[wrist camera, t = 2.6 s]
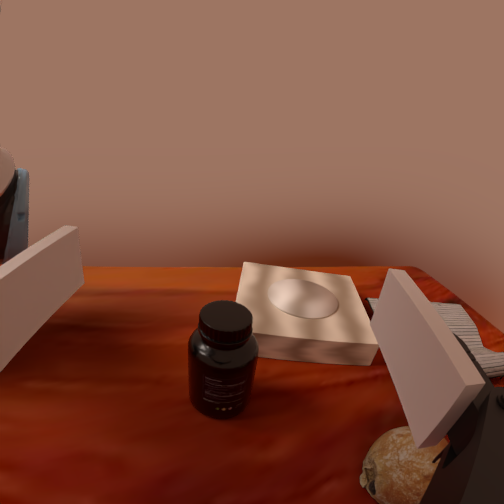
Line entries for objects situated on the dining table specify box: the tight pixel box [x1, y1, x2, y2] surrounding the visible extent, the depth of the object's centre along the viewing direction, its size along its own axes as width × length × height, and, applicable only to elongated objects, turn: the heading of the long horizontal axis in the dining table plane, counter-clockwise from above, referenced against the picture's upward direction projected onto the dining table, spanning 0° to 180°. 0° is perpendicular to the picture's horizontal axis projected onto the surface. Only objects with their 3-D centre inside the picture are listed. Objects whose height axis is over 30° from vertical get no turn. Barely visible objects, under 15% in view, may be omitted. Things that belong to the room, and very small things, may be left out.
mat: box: [365, 298, 504, 379], centre depth 43 cm, size 23×24×5 cm
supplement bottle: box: [188, 300, 259, 419], centre depth 29 cm, size 7×7×12 cm
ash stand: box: [236, 262, 379, 366], centre depth 47 cm, size 20×20×4 cm
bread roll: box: [360, 426, 448, 504], centre depth 21 cm, size 10×10×8 cm
